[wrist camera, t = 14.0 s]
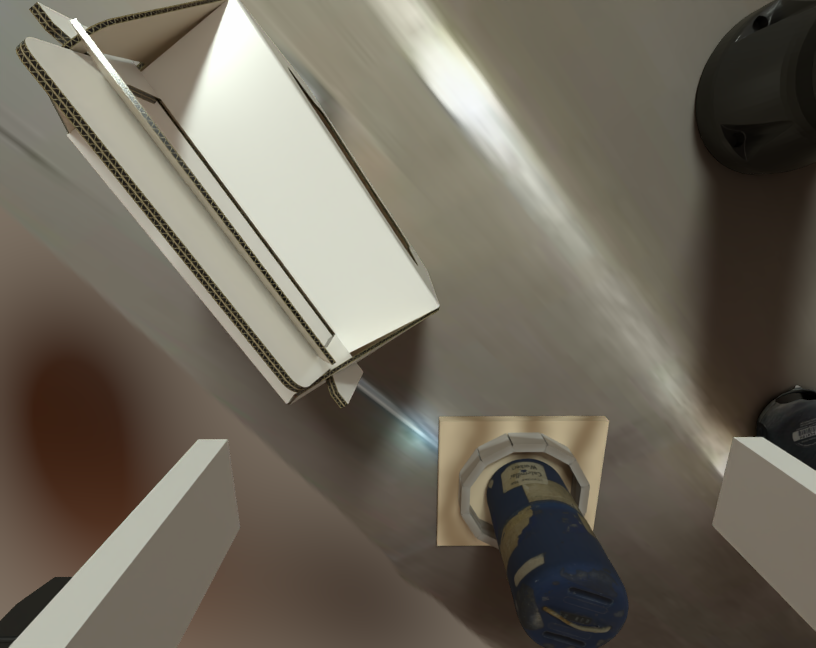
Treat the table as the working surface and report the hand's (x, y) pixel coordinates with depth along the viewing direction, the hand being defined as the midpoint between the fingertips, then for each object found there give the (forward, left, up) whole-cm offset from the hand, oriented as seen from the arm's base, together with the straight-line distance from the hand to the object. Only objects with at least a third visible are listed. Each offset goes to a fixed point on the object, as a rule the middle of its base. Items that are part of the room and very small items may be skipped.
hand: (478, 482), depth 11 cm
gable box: (+11, -6, -35) cm, 37 cm away
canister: (-12, +26, -34) cm, 44 cm away
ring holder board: (-12, +26, -35) cm, 45 cm away
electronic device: (-46, +21, -35) cm, 61 cm away
